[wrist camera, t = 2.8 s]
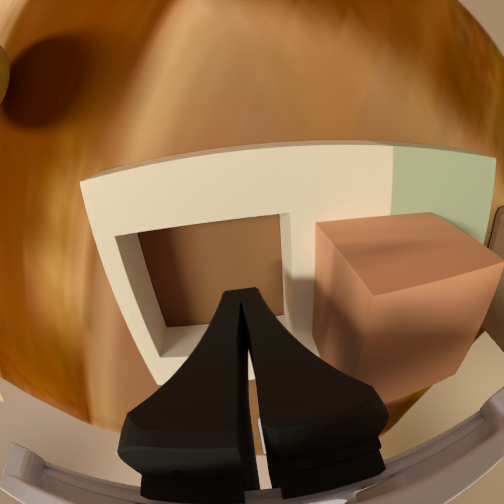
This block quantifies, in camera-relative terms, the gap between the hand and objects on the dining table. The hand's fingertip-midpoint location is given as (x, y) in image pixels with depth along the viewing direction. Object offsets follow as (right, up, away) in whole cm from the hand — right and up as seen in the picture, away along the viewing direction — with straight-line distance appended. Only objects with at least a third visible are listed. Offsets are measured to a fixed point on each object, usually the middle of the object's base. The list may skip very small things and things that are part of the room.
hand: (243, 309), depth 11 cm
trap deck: (+4, +2, +3) cm, 6 cm away
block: (+6, +1, +1) cm, 6 cm away
